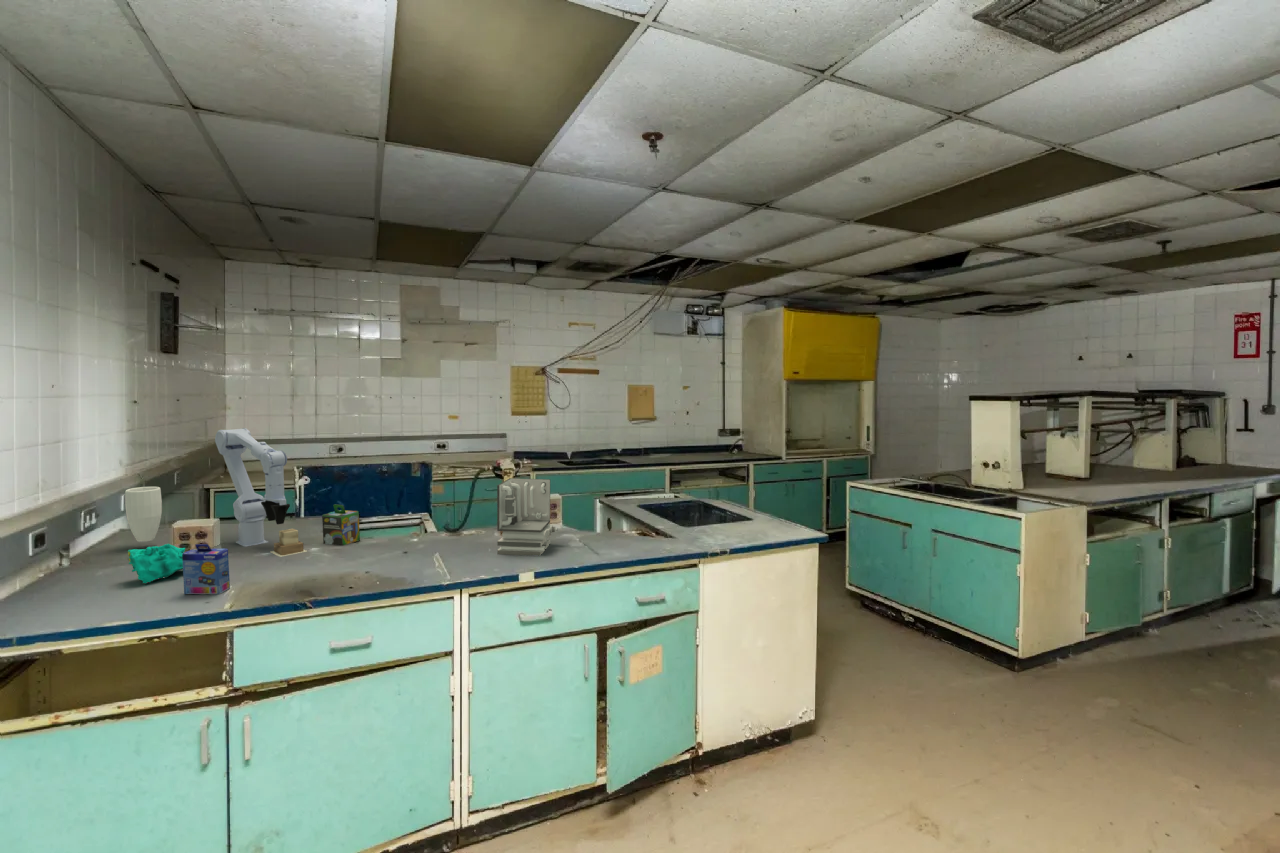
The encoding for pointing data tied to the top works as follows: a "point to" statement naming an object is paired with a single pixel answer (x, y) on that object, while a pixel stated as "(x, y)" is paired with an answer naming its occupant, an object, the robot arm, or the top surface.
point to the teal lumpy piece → (156, 561)
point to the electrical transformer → (524, 516)
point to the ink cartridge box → (205, 570)
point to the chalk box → (340, 526)
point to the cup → (143, 511)
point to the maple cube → (288, 537)
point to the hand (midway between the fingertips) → (275, 522)
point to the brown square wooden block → (288, 548)
